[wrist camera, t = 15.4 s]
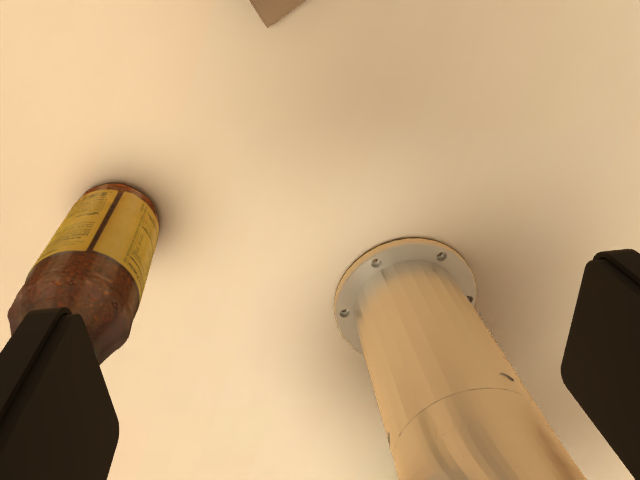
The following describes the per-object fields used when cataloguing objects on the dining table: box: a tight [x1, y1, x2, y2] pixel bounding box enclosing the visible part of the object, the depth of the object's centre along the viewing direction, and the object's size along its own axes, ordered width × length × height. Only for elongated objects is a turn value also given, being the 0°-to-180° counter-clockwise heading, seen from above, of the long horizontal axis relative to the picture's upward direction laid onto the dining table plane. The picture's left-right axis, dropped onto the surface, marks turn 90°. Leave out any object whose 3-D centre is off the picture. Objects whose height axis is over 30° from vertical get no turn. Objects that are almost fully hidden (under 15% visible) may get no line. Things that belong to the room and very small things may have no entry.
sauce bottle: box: [8, 183, 159, 365], centre depth 29 cm, size 7×6×20 cm
